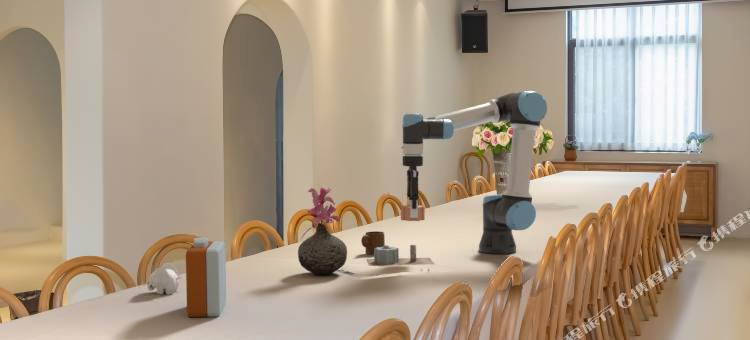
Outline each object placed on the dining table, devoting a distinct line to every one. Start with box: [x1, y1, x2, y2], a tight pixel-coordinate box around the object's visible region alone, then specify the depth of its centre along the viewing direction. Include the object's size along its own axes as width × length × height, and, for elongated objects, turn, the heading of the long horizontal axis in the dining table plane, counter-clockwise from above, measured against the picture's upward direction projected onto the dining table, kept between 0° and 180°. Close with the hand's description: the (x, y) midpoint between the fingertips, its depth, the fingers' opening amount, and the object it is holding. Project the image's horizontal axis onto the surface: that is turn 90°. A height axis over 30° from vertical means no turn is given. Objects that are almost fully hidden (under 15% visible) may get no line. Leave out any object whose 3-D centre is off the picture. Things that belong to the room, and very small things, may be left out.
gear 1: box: [373, 246, 400, 264], centre depth 293 cm, size 9×9×5 cm
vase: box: [297, 187, 348, 277], centre depth 275 cm, size 17×18×30 cm
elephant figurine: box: [142, 261, 182, 295], centre depth 247 cm, size 10×12×9 cm
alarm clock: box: [185, 237, 227, 318], centre depth 222 cm, size 18×9×21 cm, turn 5°
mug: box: [361, 230, 386, 256], centre depth 312 cm, size 12×8×9 cm, turn 143°
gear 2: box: [400, 204, 426, 222], centre depth 294 cm, size 9×9×5 cm
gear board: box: [365, 244, 435, 267], centre depth 294 cm, size 24×14×7 cm, turn 95°
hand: (412, 216), depth 294 cm, fingers closed on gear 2, 9 cm apart
